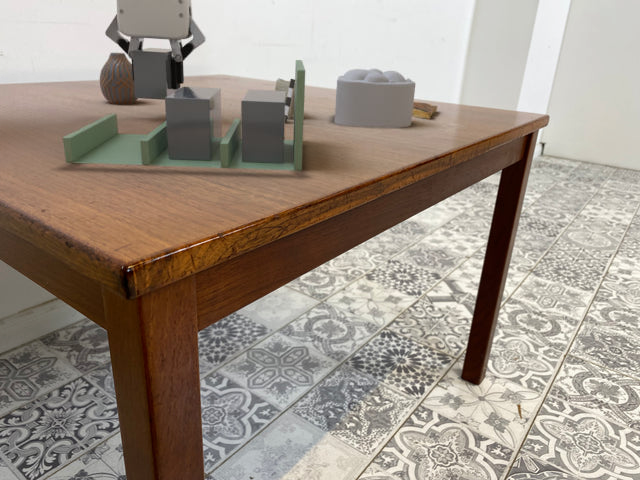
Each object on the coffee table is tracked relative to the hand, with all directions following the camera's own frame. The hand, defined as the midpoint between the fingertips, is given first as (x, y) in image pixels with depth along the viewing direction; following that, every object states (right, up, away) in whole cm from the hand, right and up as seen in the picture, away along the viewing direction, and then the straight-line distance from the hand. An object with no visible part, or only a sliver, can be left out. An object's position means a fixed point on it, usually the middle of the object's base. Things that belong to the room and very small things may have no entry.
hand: (158, 86), depth 79 cm
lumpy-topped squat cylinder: (+34, -4, +10) cm, 35 cm away
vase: (-12, +1, +16) cm, 20 cm away
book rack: (+10, -14, -18) cm, 25 cm away
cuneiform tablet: (+19, -2, +11) cm, 22 cm away
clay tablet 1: (+10, -13, -19) cm, 25 cm away
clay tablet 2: (+18, -13, -18) cm, 29 cm away
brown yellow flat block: (+45, +1, +22) cm, 50 cm away
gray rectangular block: (0, -1, +1) cm, 1 cm away
